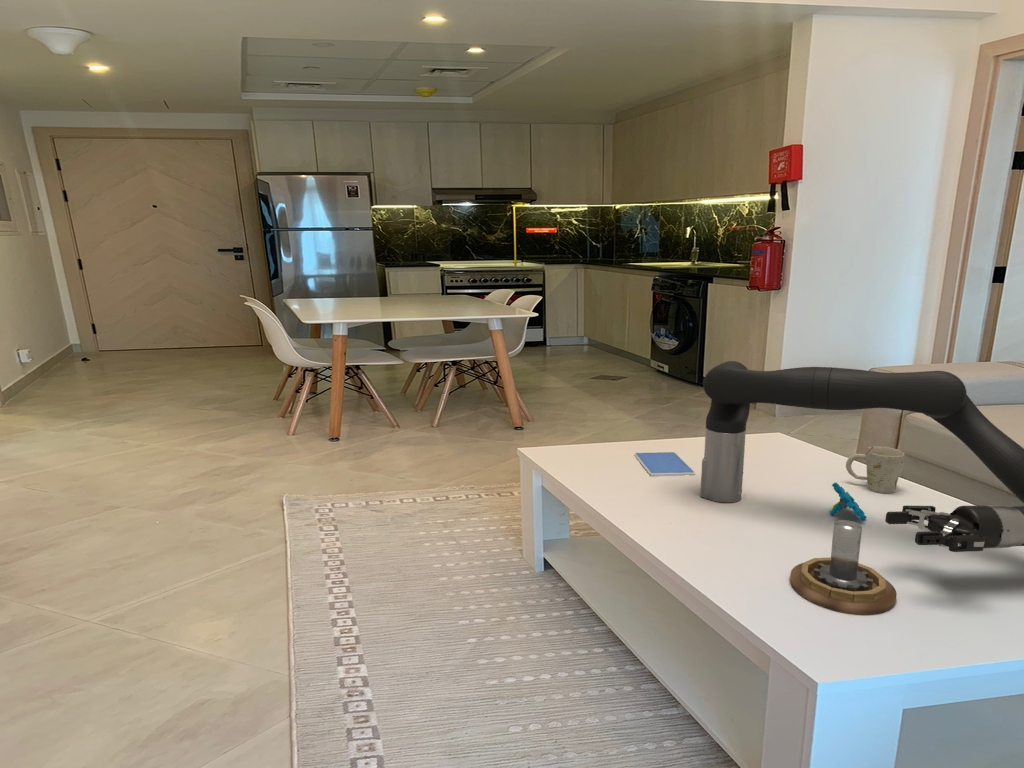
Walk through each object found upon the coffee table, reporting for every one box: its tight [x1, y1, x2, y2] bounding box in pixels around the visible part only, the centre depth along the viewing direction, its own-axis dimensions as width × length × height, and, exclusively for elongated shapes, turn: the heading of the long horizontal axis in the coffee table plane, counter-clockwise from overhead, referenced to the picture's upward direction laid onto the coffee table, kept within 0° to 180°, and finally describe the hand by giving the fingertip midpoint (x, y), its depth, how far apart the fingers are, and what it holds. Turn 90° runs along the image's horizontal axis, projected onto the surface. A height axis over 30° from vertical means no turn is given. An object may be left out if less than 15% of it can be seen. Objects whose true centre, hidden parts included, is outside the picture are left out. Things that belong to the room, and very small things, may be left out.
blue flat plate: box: [633, 451, 696, 477], centre depth 187 cm, size 19×13×1 cm, turn 3°
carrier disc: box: [789, 557, 897, 616], centre depth 118 cm, size 17×17×3 cm
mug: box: [845, 446, 905, 494], centre depth 167 cm, size 8×13×10 cm, turn 58°
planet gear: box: [813, 519, 873, 592], centre depth 117 cm, size 9×9×11 cm
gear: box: [829, 482, 868, 521], centre depth 151 cm, size 11×6×10 cm
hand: (901, 527), depth 118 cm, fingers open, 8 cm apart
